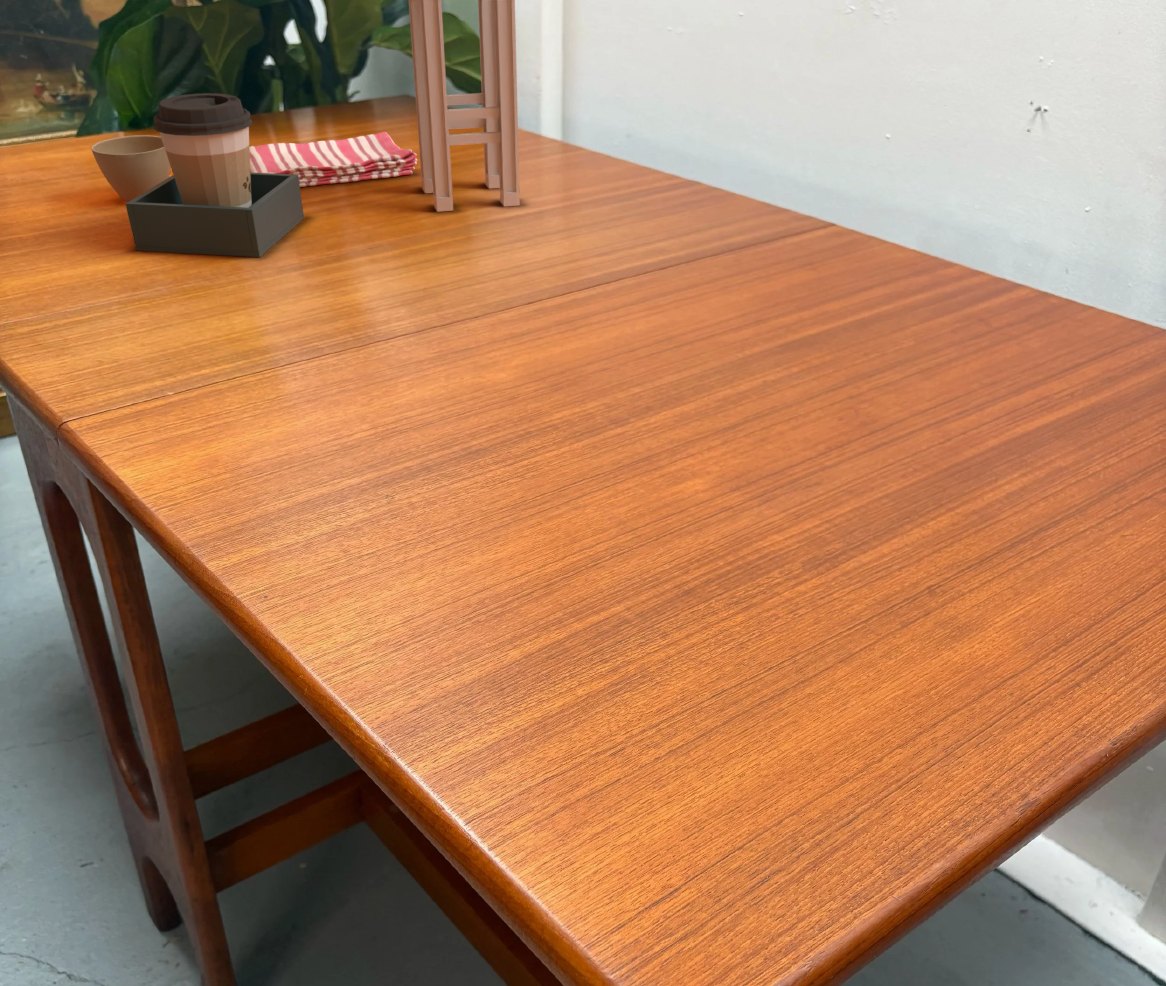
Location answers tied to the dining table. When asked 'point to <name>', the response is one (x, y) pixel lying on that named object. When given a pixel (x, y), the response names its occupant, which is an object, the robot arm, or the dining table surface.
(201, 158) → the coffee cup
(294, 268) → the dining table surface
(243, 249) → the bin
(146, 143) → the beige bowl
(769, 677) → the dining table surface
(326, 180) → the dish towel
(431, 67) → the stool
